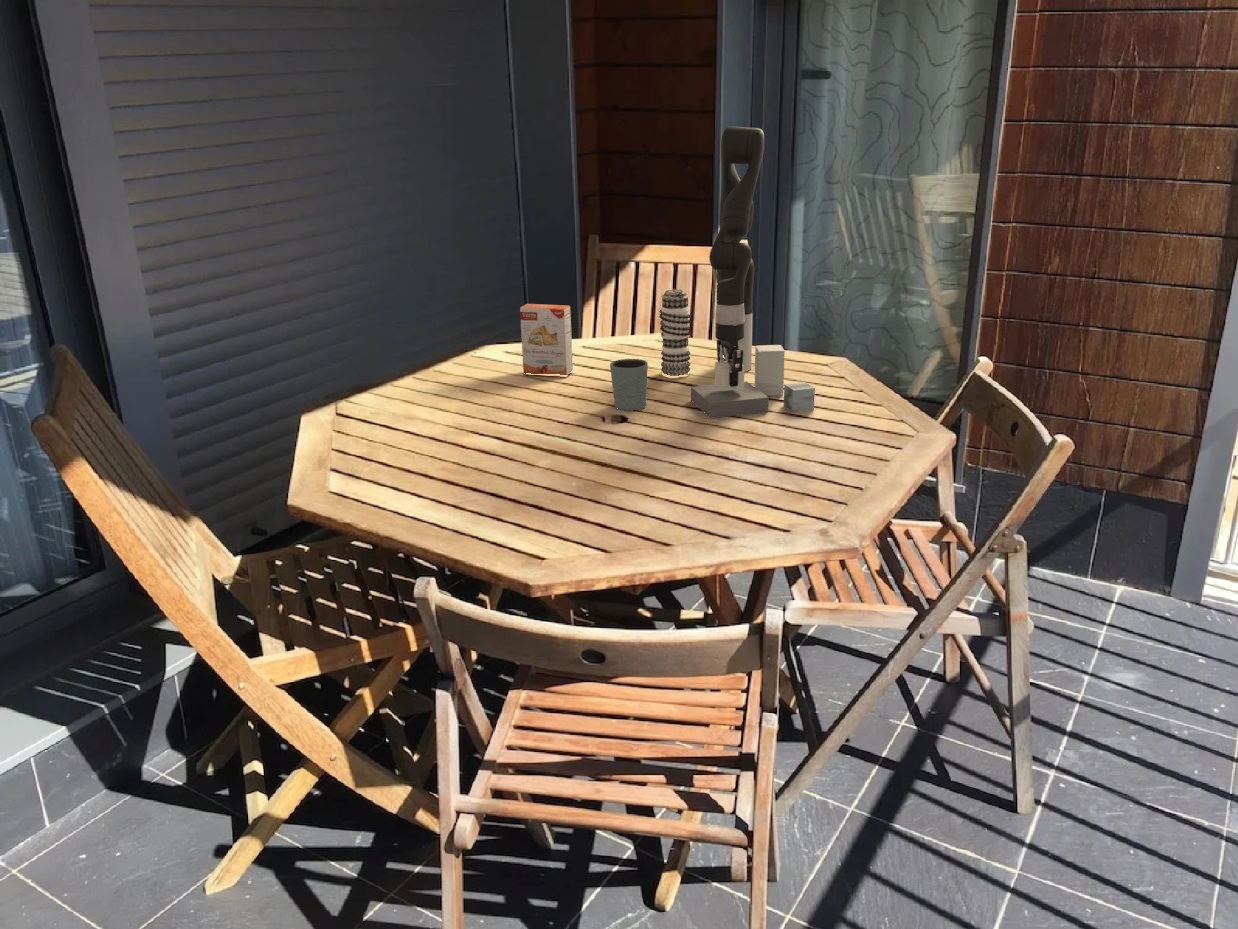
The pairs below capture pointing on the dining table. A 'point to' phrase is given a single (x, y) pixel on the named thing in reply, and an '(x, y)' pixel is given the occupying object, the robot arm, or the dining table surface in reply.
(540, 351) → the cracker box
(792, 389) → the grey cube
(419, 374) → the dining table surface
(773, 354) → the supplement box
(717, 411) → the plinth
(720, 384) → the white cube
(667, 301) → the decorative candle
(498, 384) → the dining table surface
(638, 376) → the green cup
